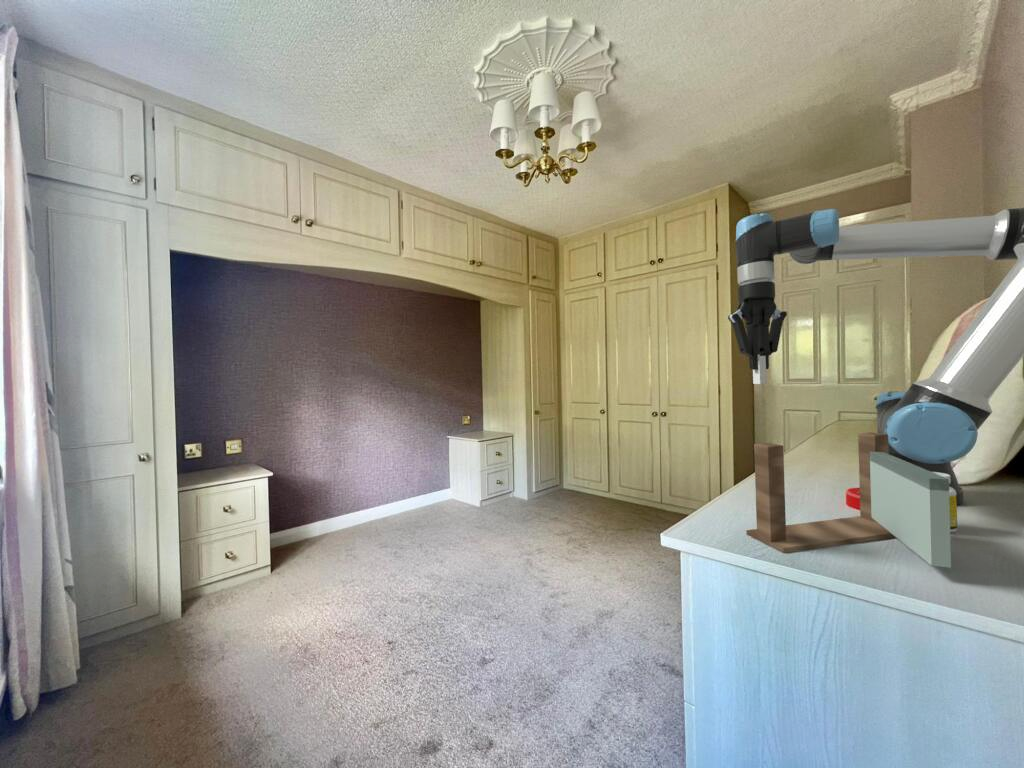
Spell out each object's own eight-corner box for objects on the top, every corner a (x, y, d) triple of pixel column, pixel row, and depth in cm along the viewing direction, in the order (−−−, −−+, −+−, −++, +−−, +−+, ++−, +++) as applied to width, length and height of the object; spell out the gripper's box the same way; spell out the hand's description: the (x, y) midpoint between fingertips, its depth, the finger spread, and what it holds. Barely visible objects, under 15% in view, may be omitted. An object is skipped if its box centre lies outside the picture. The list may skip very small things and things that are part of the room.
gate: (871, 517, 75) (869, 451, 75) (885, 518, 74) (883, 452, 74) (931, 565, 57) (929, 478, 56) (951, 567, 56) (948, 479, 56)
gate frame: (870, 518, 80) (868, 432, 79) (918, 534, 72) (916, 437, 71) (746, 534, 74) (743, 441, 74) (783, 552, 67) (780, 449, 66)
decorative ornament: (834, 504, 90) (834, 489, 90) (869, 499, 92) (869, 485, 92) (882, 518, 80) (882, 502, 80) (920, 512, 82) (920, 497, 82)
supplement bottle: (966, 534, 71) (965, 477, 71) (929, 533, 72) (927, 477, 72) (940, 523, 76) (939, 470, 76) (906, 522, 77) (905, 470, 77)
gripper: (773, 286, 101) (776, 382, 101) (720, 288, 101) (724, 384, 101) (794, 278, 94) (798, 382, 94) (737, 281, 93) (741, 385, 94)
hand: (759, 383), depth 98 cm, fingers closed
